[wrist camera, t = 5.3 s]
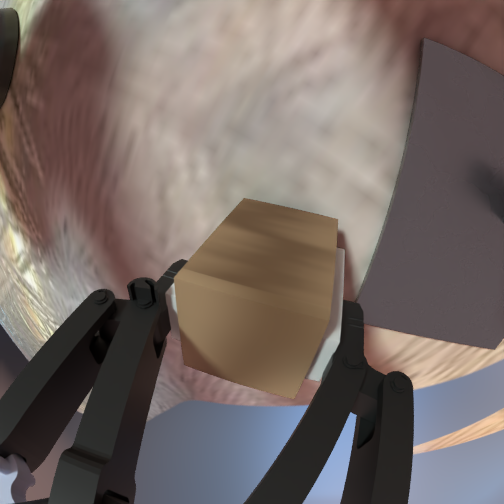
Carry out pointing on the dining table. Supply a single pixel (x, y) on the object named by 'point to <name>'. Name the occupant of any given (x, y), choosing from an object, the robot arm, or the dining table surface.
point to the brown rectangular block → (258, 296)
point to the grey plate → (445, 210)
